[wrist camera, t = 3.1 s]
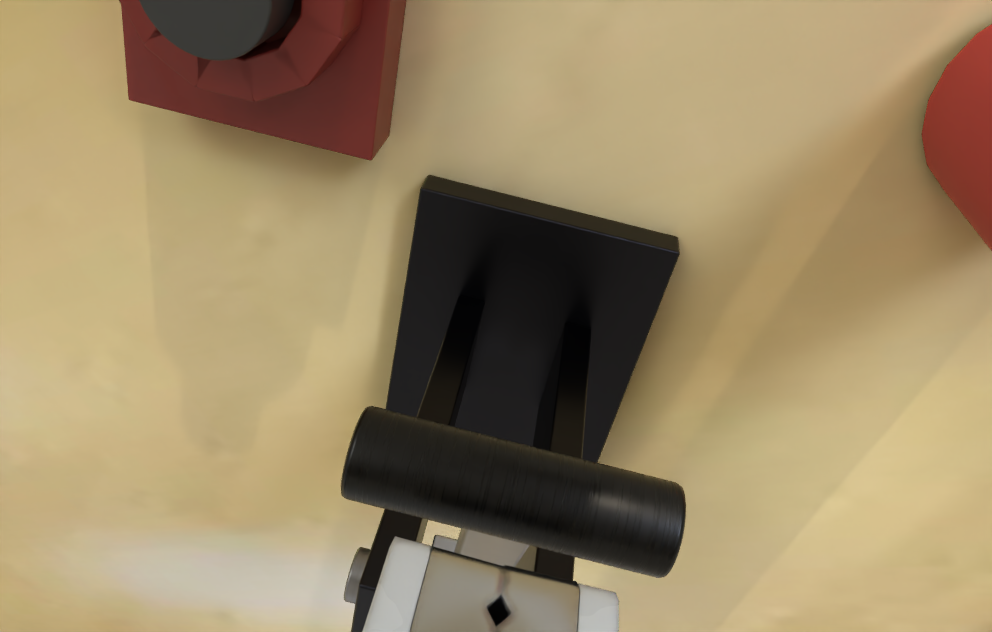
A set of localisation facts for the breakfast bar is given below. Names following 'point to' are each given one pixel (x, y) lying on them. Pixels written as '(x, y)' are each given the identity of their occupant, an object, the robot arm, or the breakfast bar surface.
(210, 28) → the button
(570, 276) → the bracket
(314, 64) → the button box
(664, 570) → the lever
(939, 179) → the beer can
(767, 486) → the breakfast bar surface
